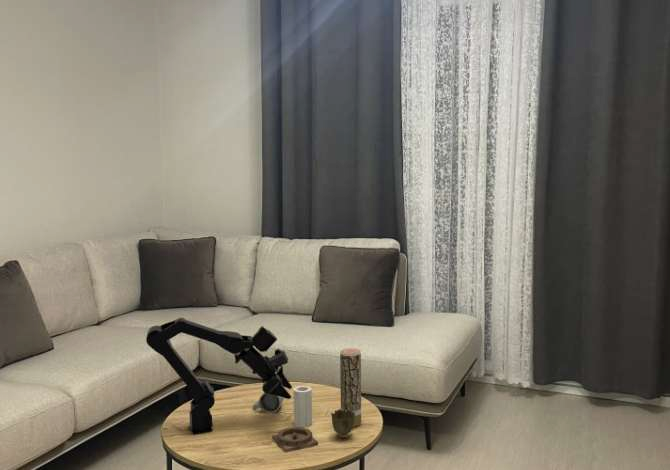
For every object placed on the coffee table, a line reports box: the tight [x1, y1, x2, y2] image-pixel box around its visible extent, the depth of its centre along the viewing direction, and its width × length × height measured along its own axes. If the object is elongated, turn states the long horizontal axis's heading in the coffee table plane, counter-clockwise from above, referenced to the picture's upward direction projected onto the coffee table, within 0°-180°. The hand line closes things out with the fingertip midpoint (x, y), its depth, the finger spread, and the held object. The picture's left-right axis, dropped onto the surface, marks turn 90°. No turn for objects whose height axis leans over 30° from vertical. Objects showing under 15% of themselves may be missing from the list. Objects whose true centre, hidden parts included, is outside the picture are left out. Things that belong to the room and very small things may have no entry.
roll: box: [292, 385, 313, 428], centre depth 226 cm, size 6×6×12 cm
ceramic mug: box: [252, 392, 284, 414], centre depth 240 cm, size 11×8×8 cm
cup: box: [330, 408, 355, 440], centre depth 215 cm, size 8×7×8 cm
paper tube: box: [339, 348, 362, 428], centre depth 224 cm, size 7×7×25 cm
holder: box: [271, 426, 319, 453], centre depth 212 cm, size 11×11×3 cm
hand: (290, 393), depth 225 cm, fingers open, 9 cm apart
